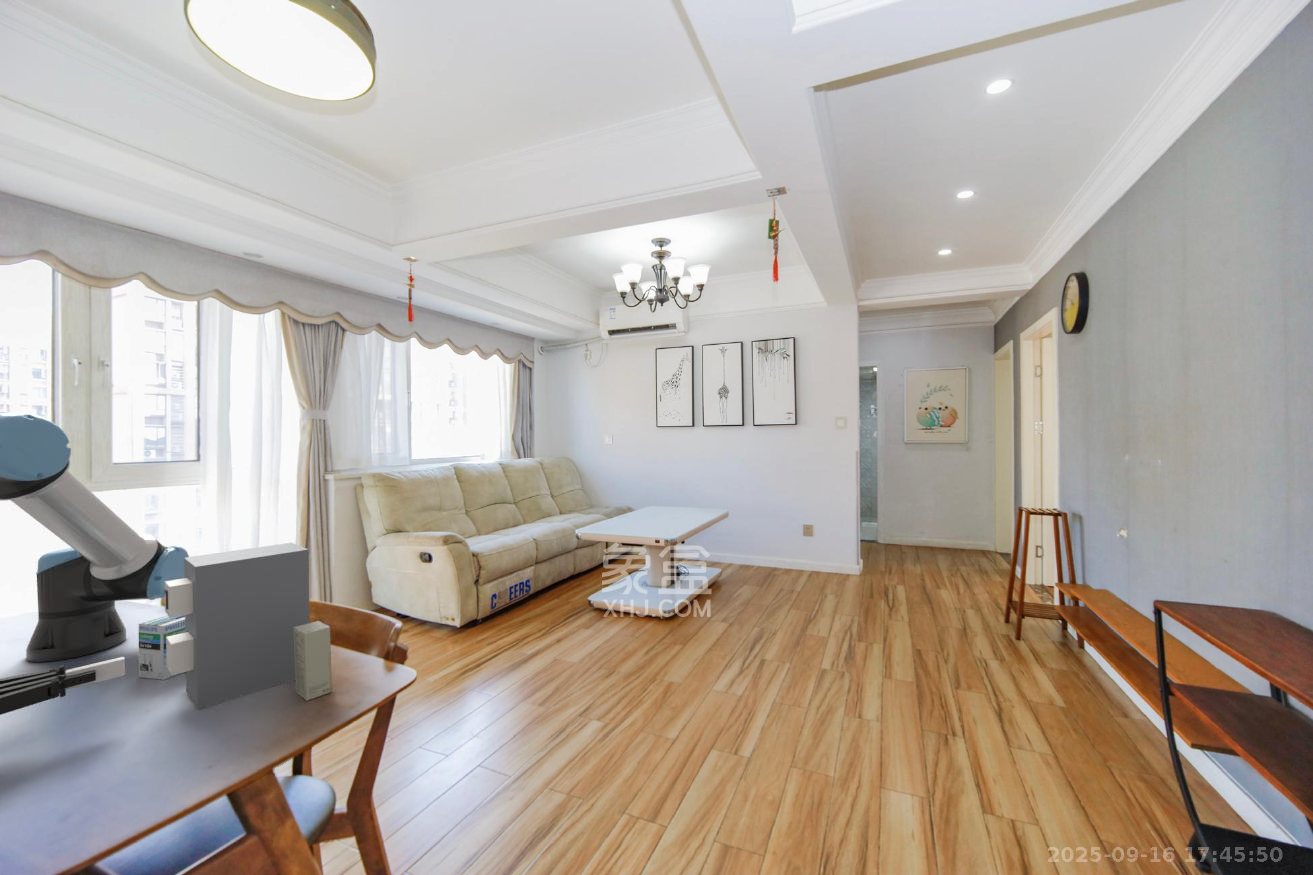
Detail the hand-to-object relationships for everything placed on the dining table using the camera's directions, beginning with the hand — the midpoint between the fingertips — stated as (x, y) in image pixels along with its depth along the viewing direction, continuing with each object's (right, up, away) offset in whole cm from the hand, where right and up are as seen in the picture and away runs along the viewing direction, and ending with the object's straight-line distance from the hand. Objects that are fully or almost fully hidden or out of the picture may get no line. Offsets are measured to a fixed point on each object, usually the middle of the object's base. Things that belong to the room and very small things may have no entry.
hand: (124, 665), depth 87 cm
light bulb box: (-9, -9, +20) cm, 24 cm away
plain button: (+5, -3, +6) cm, 9 cm away
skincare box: (+26, -9, +9) cm, 29 cm away
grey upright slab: (+11, -9, +13) cm, 20 cm away
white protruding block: (+5, +7, +6) cm, 11 cm away
